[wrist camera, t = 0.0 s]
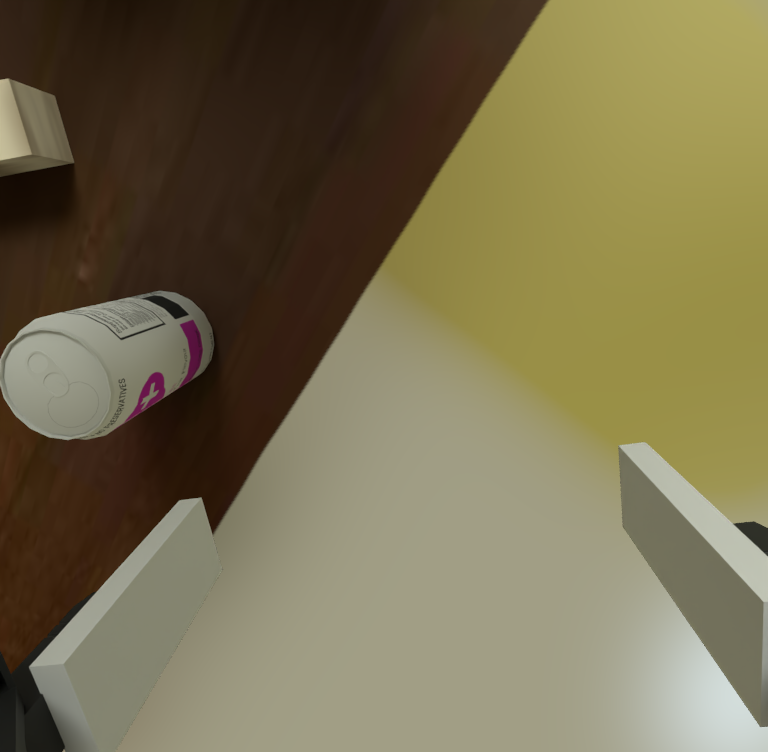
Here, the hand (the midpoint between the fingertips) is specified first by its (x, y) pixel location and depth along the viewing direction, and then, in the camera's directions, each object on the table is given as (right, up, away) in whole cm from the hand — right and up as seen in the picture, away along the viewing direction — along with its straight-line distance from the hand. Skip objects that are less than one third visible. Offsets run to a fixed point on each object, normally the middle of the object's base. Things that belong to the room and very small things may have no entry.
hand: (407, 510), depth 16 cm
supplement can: (-20, +8, +29) cm, 36 cm away
